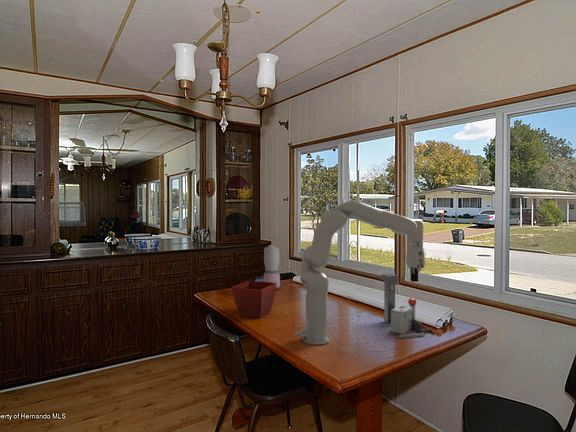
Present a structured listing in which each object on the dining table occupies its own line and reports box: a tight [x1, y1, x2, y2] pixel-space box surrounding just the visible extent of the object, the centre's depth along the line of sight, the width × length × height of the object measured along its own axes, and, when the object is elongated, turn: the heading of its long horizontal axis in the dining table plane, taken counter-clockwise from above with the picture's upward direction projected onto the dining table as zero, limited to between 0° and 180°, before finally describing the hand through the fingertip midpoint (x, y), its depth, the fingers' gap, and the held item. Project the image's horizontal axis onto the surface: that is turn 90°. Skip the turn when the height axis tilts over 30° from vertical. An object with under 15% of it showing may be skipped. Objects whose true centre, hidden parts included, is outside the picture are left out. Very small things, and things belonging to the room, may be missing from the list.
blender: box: [263, 245, 281, 290], centre depth 261 cm, size 16×12×32 cm
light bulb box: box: [390, 304, 413, 335], centre depth 172 cm, size 11×7×11 cm, turn 140°
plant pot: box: [231, 280, 277, 319], centre depth 198 cm, size 19×19×17 cm
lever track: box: [422, 325, 435, 336], centre depth 175 cm, size 6×20×1 cm, turn 11°
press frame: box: [381, 273, 425, 339], centre depth 174 cm, size 14×24×25 cm, turn 11°
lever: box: [407, 297, 417, 320], centre depth 180 cm, size 4×5×13 cm
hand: (414, 281), depth 173 cm, fingers closed
